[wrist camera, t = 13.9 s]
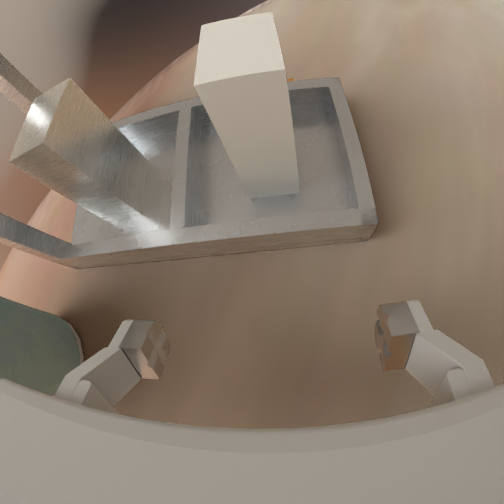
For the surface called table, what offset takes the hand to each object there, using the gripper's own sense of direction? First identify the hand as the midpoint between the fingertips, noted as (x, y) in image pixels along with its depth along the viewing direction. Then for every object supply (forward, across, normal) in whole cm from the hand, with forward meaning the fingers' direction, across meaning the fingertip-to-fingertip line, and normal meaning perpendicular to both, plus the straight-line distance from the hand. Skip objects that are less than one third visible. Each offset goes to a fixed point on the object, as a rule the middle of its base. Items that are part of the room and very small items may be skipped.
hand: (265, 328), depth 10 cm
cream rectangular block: (+13, 0, -2) cm, 14 cm away
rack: (+14, +6, -2) cm, 15 cm away
